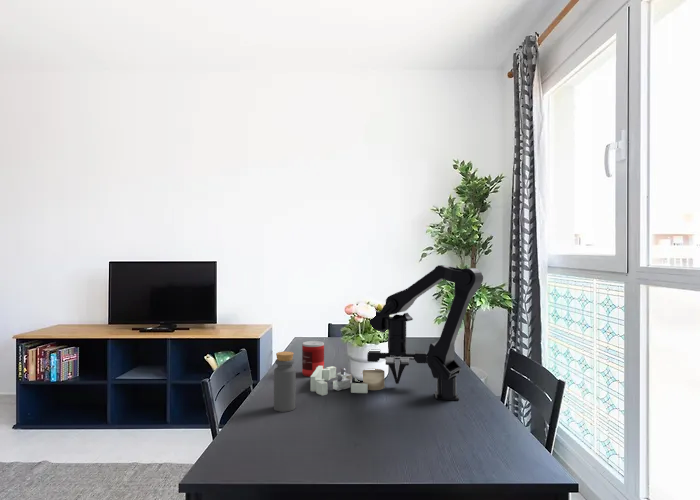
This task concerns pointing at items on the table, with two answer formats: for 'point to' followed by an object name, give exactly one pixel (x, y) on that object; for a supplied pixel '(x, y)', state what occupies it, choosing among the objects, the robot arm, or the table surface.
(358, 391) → the dock
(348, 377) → the plunger
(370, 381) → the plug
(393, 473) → the table surface
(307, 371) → the canned food
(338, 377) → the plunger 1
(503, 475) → the table surface
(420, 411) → the table surface
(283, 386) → the bottle
